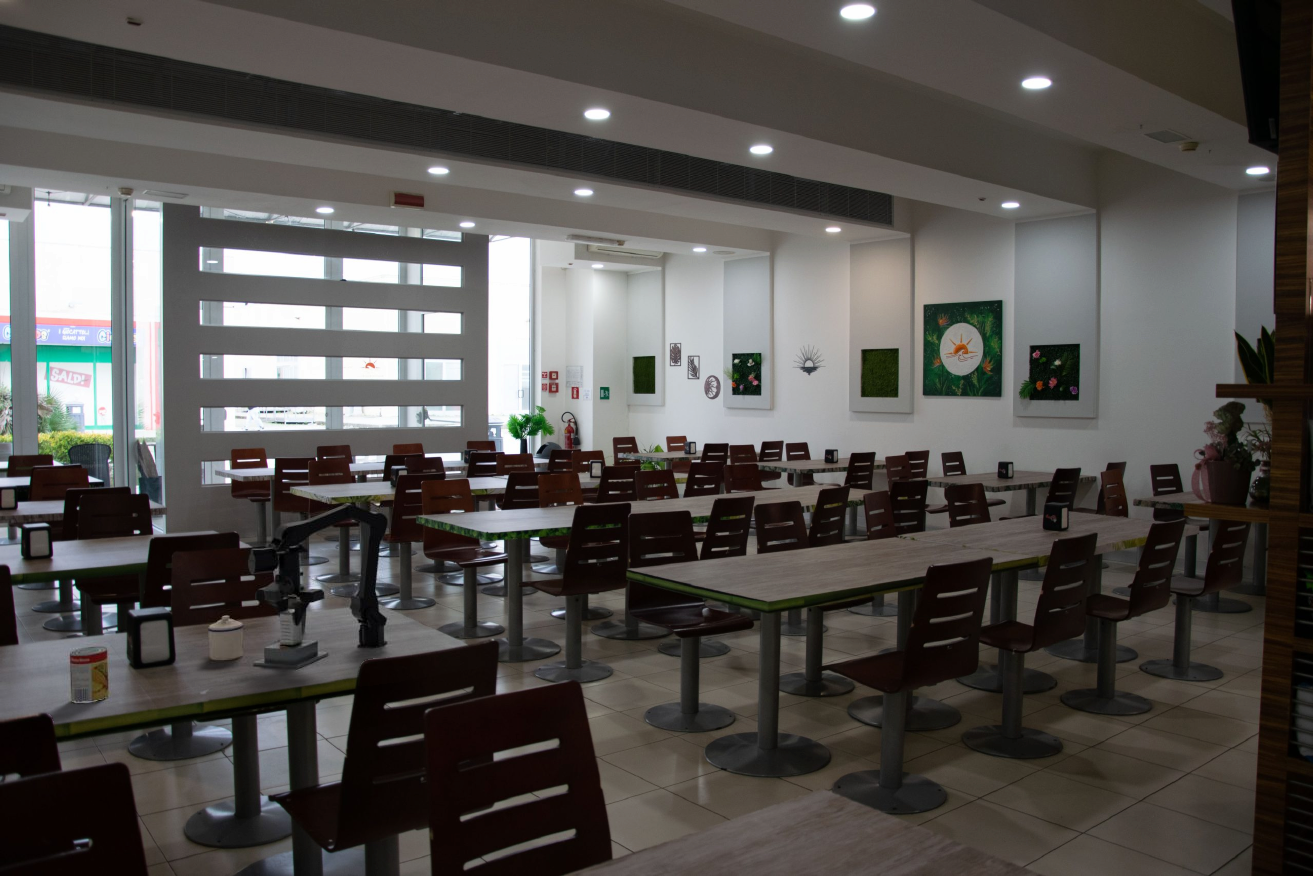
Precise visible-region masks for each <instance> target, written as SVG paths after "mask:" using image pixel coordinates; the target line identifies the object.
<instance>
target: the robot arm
mask: <svg viewBox="0 0 1313 876" xmlns="http://www.w3.org/2000/svg"><path fill="white" fill-rule="evenodd" d="M349 519H350V520H351V521H354V522H355V523H358V524H359V525H360V526H359V527H360V533H361V536H362V539H363V546H362V557H361V569H360V575H359V576H360V577H359V578H360V579H359V588H358V591H357V592H356V594H355V595H354V594H351V596H350V606H349V608H348V609H349V610H351V615H352V616H353V618H355V619H357V623H358V624H360V625H359V630H358V643H357V645H356V646H357V647H358V648H371V649H372V648H373V649H376V648H379V647H381V646H383V645H386V644H387V643H388V641H387V640H385V626H386V625H387V621H388V617H386V616H385V615H384V614H383V613H381V612H380V606H379V605H380V604H379V599H378V595H377V592H376V591H377V589H376V588H377V579H378V577H377V576H378V568H379V557H380V549H381V548H380V547H381V542H382V541H383V539H384V537H385V535H386V532H387V529H388V525H389V523H388V522H389V519H388V518H387V516H386V515H385V514H383V513H381V512H375V511H370V510H366V509H364V508H362V507H359V506H357V505H356V504H355V503H354V504H353V503H343V504H342V505H340V506H338V507H336V508H333V509H331V510H329V511H325V512H323V513H320V514H319V515H316V516H313V517H311V518H308V519H306V520H300V521H299V520H298V521H293V522H288V523H283V524H281V525H279V526H278V527H277V528H276V530H275V533H274V536H273V538H272V539H271V541H270V542H269V544H268V545H267V547H265V548H252V549H250V554H249V556H248V560H247V565H248V566H247V567H248V570H249V573H250V574H251V575H256V574H266V573H273V572H274V571H275V570H278V572H277V573H276V574H275V575H274V581H273V582H271V583H269V585H267V586H265V587H262V588H258V589H257V590H256V592H255V600H256V601H258V600H259V601H266V602H267V604H269V605H271V606H273V607H274V609H275V610H276V612H277V614H278V617H279V619H280V612H281V611H284V610H287V609H288V601H289V598H297V599H296V602H293V603H292V605H293V606H294V608H295V624H296V626H298V625H299V624H300V622H301V619H302V617H303V615H304V613H305V610H306V611H307V609H306V608H308V607H309V605H310V604H311V603H316V602H319V601H321V600H325V598H326V597H325V591H324V590H323V589H322V588H309V589H307V590H306V591H302V592H301V590H304V586H305V585H304V586H301V584H302V583H301V581H302V580H301V577H303V576H304V571H301V554H302V553H308V549H307V548H305V547H304V546H303V544H302V543H303V542H304V541H306V540H307V539H309V537H310V536H312V535H313V534H315V533H317V532H319V531H323V530H325V529H327V528H329V527H333V526H334V525H336V524H339V523H341V522H344V521H347V520H349ZM292 594H295V595H292ZM285 597H286V598H285Z"/></svg>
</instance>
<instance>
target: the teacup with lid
mask: <svg viewBox="0 0 1313 876" xmlns="http://www.w3.org/2000/svg"><path fill="white" fill-rule="evenodd" d="M243 627H244V625H243V623H242V622H241V621H237V620H235V619H232V618H230V615H223V616H222V617H221V619H219V620H217V622H214V623H212V624H210V625H209V626H208V629H207V630H208V634H207V637H208V641H209V642H208V643H209V659H210V660H212V661H217V662H218V661H229V660H235V659H239V658H241V657H242V656H244V643H243V642H244V637H243V636H244V635H243V634H244V633H243Z"/></svg>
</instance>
